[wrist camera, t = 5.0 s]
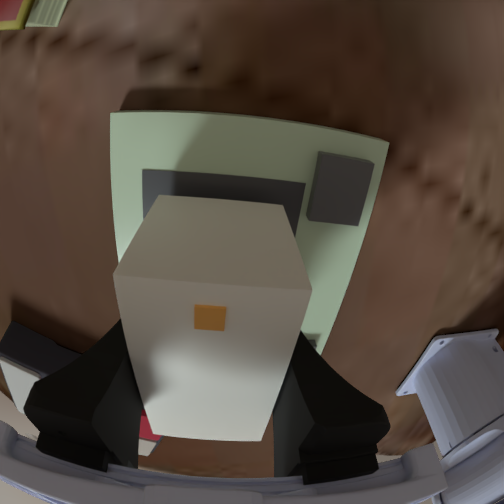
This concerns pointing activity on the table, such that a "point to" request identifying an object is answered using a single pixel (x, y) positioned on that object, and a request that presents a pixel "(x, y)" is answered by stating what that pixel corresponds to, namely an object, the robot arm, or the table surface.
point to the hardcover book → (30, 13)
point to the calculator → (47, 371)
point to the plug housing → (211, 314)
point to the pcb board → (255, 184)
